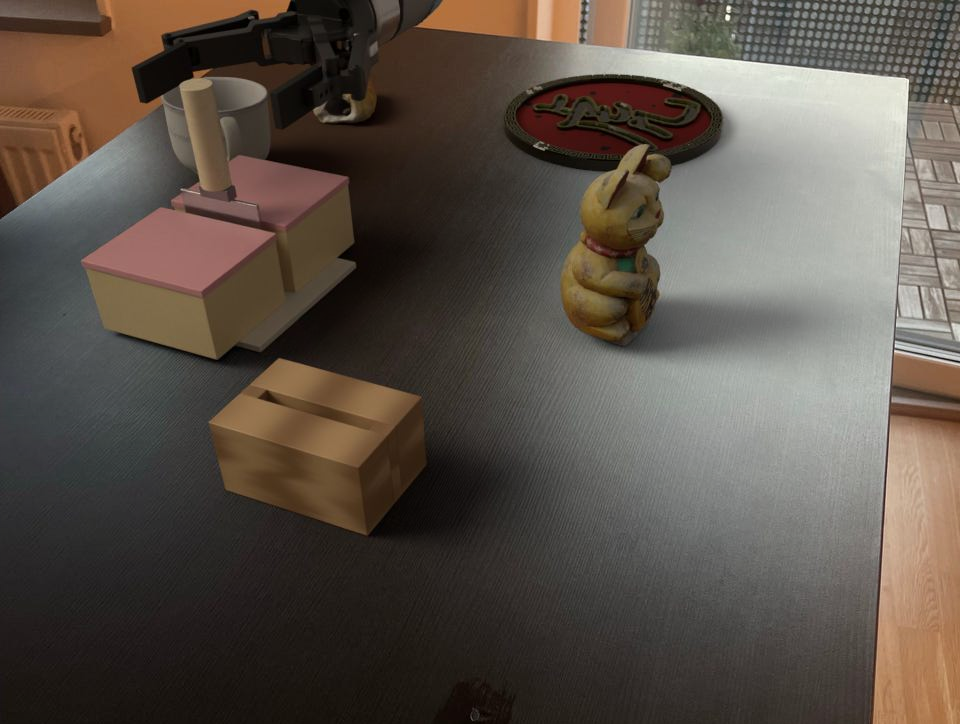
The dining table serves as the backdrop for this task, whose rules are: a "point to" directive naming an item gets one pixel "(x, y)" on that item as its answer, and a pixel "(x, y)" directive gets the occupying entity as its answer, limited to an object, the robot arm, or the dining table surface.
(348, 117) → the pastry
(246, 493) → the knife block
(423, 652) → the dining table surface
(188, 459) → the dining table surface
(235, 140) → the teacup
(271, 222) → the cake
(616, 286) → the decorative figurine
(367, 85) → the robot arm
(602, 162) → the decorative plate
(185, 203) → the knife
